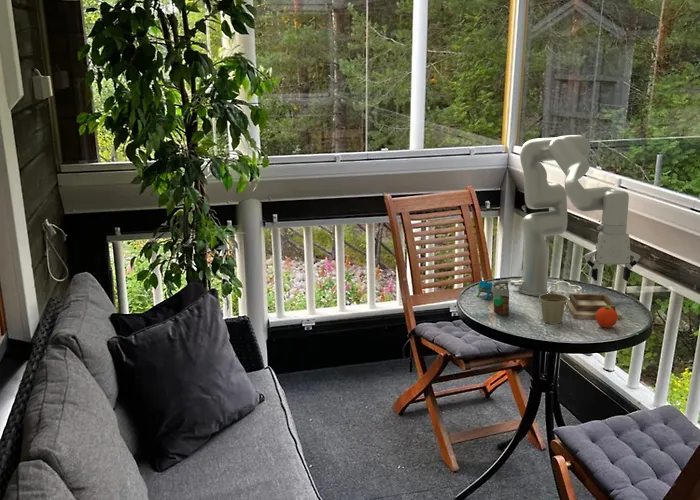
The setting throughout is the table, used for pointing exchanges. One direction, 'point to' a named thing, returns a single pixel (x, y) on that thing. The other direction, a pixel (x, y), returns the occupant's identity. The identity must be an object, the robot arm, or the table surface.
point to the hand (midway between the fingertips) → (610, 279)
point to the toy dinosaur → (485, 288)
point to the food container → (501, 298)
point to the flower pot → (552, 307)
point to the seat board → (589, 305)
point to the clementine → (606, 317)
